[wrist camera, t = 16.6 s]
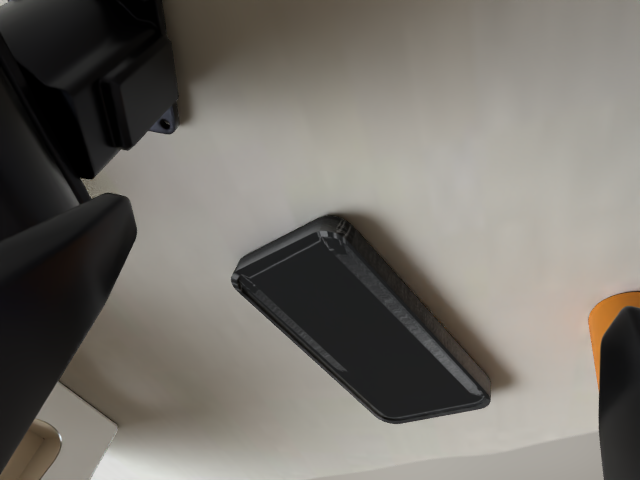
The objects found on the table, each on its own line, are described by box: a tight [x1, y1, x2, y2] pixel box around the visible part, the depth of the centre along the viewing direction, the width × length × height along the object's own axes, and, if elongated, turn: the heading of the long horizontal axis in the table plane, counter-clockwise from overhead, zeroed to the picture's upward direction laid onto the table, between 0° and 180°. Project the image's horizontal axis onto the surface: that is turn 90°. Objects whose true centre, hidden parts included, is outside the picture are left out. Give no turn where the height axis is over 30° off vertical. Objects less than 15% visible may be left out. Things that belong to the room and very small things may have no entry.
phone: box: [231, 216, 491, 424], centre depth 29 cm, size 8×1×15 cm
